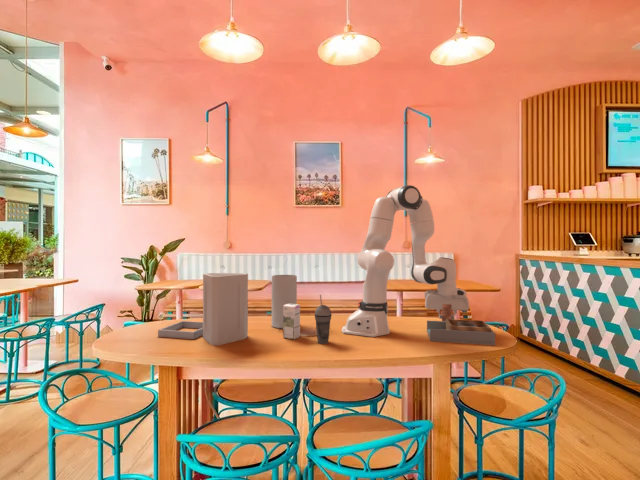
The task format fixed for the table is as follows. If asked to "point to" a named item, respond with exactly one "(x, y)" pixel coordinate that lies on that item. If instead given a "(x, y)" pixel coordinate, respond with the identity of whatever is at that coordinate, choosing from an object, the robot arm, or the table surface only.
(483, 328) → the crate
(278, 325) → the cylinder vase
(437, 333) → the tray
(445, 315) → the reddish brown block
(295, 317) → the syrup box
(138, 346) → the table surface
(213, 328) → the paper bag
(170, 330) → the gray square frame
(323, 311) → the beverage cup
